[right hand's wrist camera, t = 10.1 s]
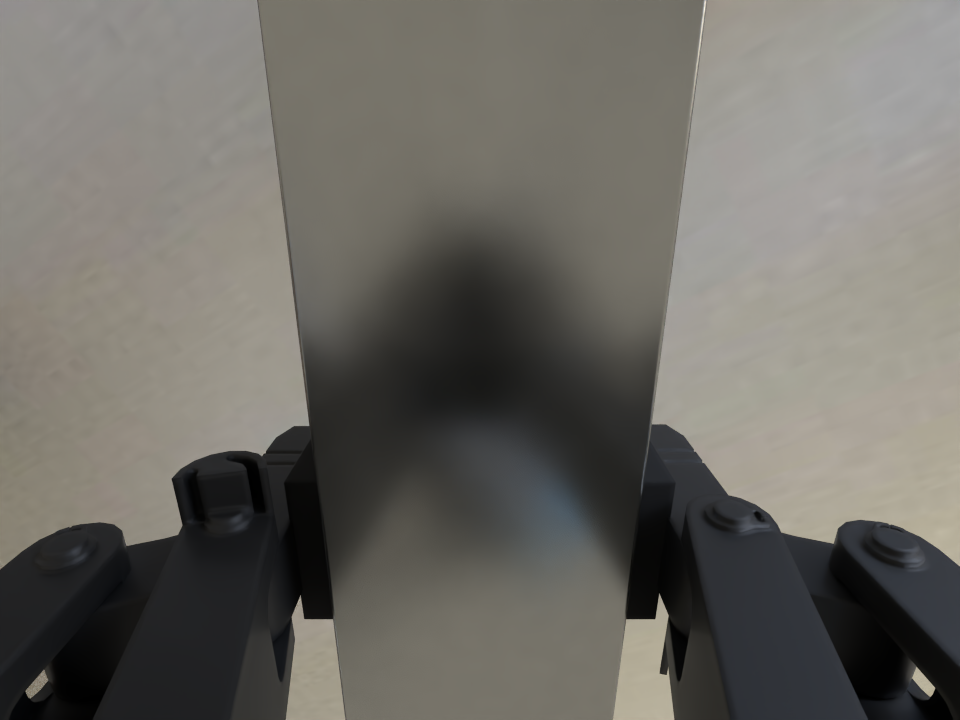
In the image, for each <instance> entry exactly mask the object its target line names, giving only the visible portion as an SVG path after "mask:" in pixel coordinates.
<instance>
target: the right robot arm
mask: <svg viewBox="0 0 960 720" xmlns="http://www.w3.org/2000/svg"><path fill="white" fill-rule="evenodd" d="M172 482H173V486H174V491H175V495H176V499H177V503H178V507H179V512H180V516H181V520H182V524H183V526H182V528H181V530H180V532H179V534H178V535H177V536H173V537H169V538H165V539H160V540H155V541H150V542H145V543H140V544H135V545H130V546H126V543H125V540H124V536H123V533H122V530H120V529H119V528H118V527H116V526H115V525H113V524H107V523H100V522H99V523H90V524H80V525H76V526H72V527H70V528H69V527H68V528H65V529H62V530H59V531H57V532H55V533H54V534H51V535H49V536H47V537H45V538H43V539H40V540H39V541H37V542H36V543H34V544H33V545H31V546H30V547H28V548H27V549H25V550H24V551H22V552H21V553H20V554H19V555H17V556H16V557H15V558H14V559H13V560H11V561H10V562H9V563H8V564H7V565H5V566H4V567H3V568H2V569H1V570H0V720H286V712H287V703H288V695H289V686H290V677H291V669H292V660H293V651H294V643H295V637H294V630H293V624H292V614H293V612H294V609H295V607H296V605H297V602H298V600H299V597H300V595H301V600H302V607H303V613H304V619H333V613H332V605H331V597H330V589H329V581H328V572H327V564H326V556H325V548H324V540H323V532H322V523H321V515H320V507H319V499H318V491H317V483H316V474H315V466H314V458H313V450H312V442H311V434H310V426H294V427H292V428H291V429H289V430H287V431H286V432H284V433H283V434H281V435H280V436H278V437H276V439H275V440H274V441H273V443H272V444H271V445H270V447H269V448H268V449H267V451H266V454H264V455H263V456H261V455H259V454H257V453H252V452H248V451H228V452H223V453H218V454H212V455H209V456H207V457H204V458H201V459H198V460H196V461H194V462H192V463H190V464H188V465H187V466H185V467H183V468H182V469H180V470H179V471H178V472H177V474H176V475H175V476H174V477H173V478H172ZM659 593H660V596H661V598H662V600H663V603H664V605H665V608H666V610H667V612H668V615H669V617H668V624H667V630H666V636H665V642H664V648H663V655H662V661H661V667H660V674H664V675H667V670H668V668H669V676H670V685H671V693H672V702H673V711H674V719H675V720H960V566H958V565H957V564H956V563H955V562H953V561H952V560H951V559H950V558H949V557H947V556H946V555H945V554H944V553H943V552H941V551H940V550H939V549H938V548H936V547H935V546H933V545H932V544H930V543H929V542H927V541H926V540H924V539H923V538H921V537H919V536H917V535H915V534H912V533H910V532H908V531H906V530H904V529H903V528H900V527H897V526H894V525H889V524H887V523H882V522H875V521H865V520H857V521H851V522H846V523H844V524H843V525H842V526H841V527H839V528H838V531H837V535H836V538H835V542H834V544H831V543H826V542H821V541H816V540H811V539H806V538H801V537H796V536H792V535H788V534H784V533H781V531H780V529H779V527H778V525H777V524H776V522H775V521H774V520H773V518H772V517H771V516H770V515H769V514H768V513H767V512H765V511H764V510H762V509H761V508H760V507H758V506H757V505H755V504H753V503H750V502H748V501H745V500H743V499H741V498H737V497H733V496H728V494H727V493H726V492H725V490H724V489H723V488H722V486H721V485H720V484H719V482H718V481H717V480H716V478H715V477H714V476H713V474H712V473H711V472H710V470H709V469H708V468H707V466H706V465H705V464H704V463H702V460H701V458H700V457H699V456H698V454H697V453H696V452H694V449H693V448H692V446H691V445H690V444H689V442H688V441H687V440H686V438H685V437H684V436H683V435H681V434H680V433H678V432H677V431H675V430H674V429H672V428H670V427H669V426H667V425H651V433H650V441H649V448H648V456H647V463H646V471H645V479H644V486H643V494H642V502H641V509H640V517H639V524H638V532H637V540H636V547H635V555H634V562H633V570H632V578H631V585H630V593H629V601H628V608H627V616H626V619H655V617H656V611H657V604H658V597H659ZM916 666H917V668H918V669H919V670H920V671H921V672H922V673H923V674H924V675H925V677H926V678H927V679H928V680H929V681H930V682H931V683H932V685H933V686H934V687H935V691H934V693H933V695H932V696H931V697H929V696H928V695H927V694H926V693H925V692H924V691H923V690H922V689H921V688H920V687H919V686H918V685H917V684H916V683H915V681H914V680H913V679H912V677H913V674H914V671H915V669H916ZM43 670H45V673H46V675H47V678H48V680H49V681H48V682H47V683H46V684H45V685H44V686H43V688H42V689H41V690H40V691H39V692H38V693H37V694H36V695H34V696H33V697H32V698H31V699H29V698H28V697H27V694H26V692H25V690H26V689H27V688H28V687H29V686H30V685H31V684H32V682H33V681H34V680H35V679H36V678H37V677H38V676H39V674H40V673H41V672H42V671H43Z"/></svg>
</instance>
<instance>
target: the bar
mask: <svg viewBox="0 0 960 720" xmlns="http://www.w3.org/2000/svg"><path fill="white" fill-rule="evenodd" d="M257 1H258V9H259V18H260V26H261V34H262V42H263V50H264V58H265V66H266V75H267V83H268V91H269V99H270V107H271V115H272V124H273V132H274V140H275V148H276V156H277V164H278V173H279V181H280V189H281V197H282V205H283V213H284V222H285V230H286V238H287V246H288V254H289V262H290V270H291V279H292V287H293V295H294V303H295V311H296V319H297V328H298V336H299V344H300V352H301V360H302V368H303V377H304V385H305V393H306V401H307V409H308V417H309V426H310V434H311V442H312V450H313V458H314V466H315V474H316V483H317V491H318V499H319V507H320V515H321V523H322V532H323V540H324V548H325V556H326V564H327V572H328V581H329V589H330V597H331V605H332V613H333V621H334V629H335V638H336V646H337V654H338V662H339V670H340V678H341V687H342V695H343V703H344V711H345V719H346V720H613V715H614V707H615V700H616V692H617V684H618V677H619V669H620V662H621V654H622V646H623V639H624V631H625V623H626V616H627V608H628V601H629V593H630V585H631V578H632V570H633V562H634V555H635V547H636V540H637V532H638V524H639V517H640V509H641V502H642V494H643V486H644V479H645V471H646V463H647V456H648V448H649V441H650V433H651V425H652V418H653V410H654V402H655V395H656V387H657V380H658V372H659V364H660V357H661V349H662V341H663V334H664V326H665V319H666V311H667V303H668V296H669V288H670V280H671V273H672V265H673V258H674V250H675V242H676V235H677V227H678V220H679V212H680V204H681V197H682V189H683V181H684V174H685V166H686V159H687V151H688V143H689V136H690V128H691V120H692V113H693V105H694V98H695V90H696V82H697V75H698V67H699V59H700V52H701V44H702V37H703V29H704V21H705V14H706V6H707V0H257Z"/></svg>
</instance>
